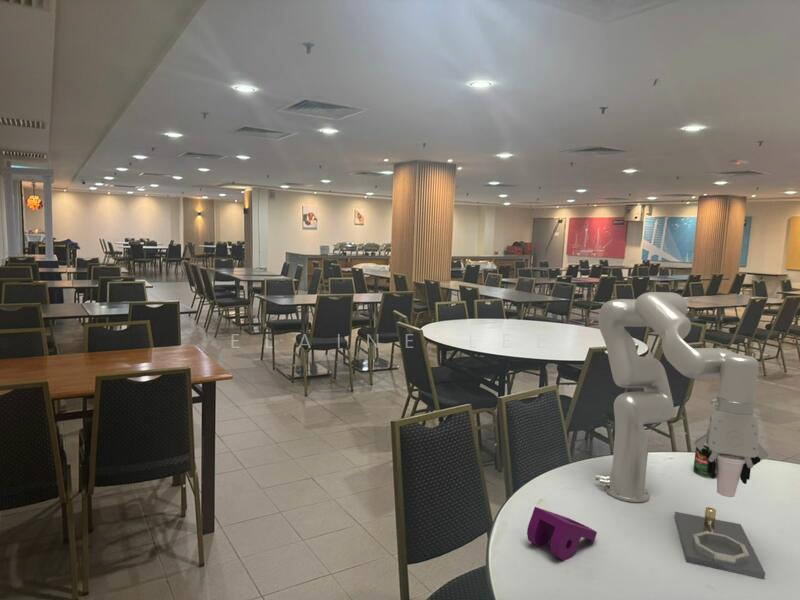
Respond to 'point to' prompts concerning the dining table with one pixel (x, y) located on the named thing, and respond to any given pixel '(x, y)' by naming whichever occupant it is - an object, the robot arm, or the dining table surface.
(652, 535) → the dining table surface
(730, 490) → the smoothie
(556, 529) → the mounting bracket
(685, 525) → the grey base plate
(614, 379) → the robot arm
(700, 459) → the canned tomato
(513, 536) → the dining table surface
